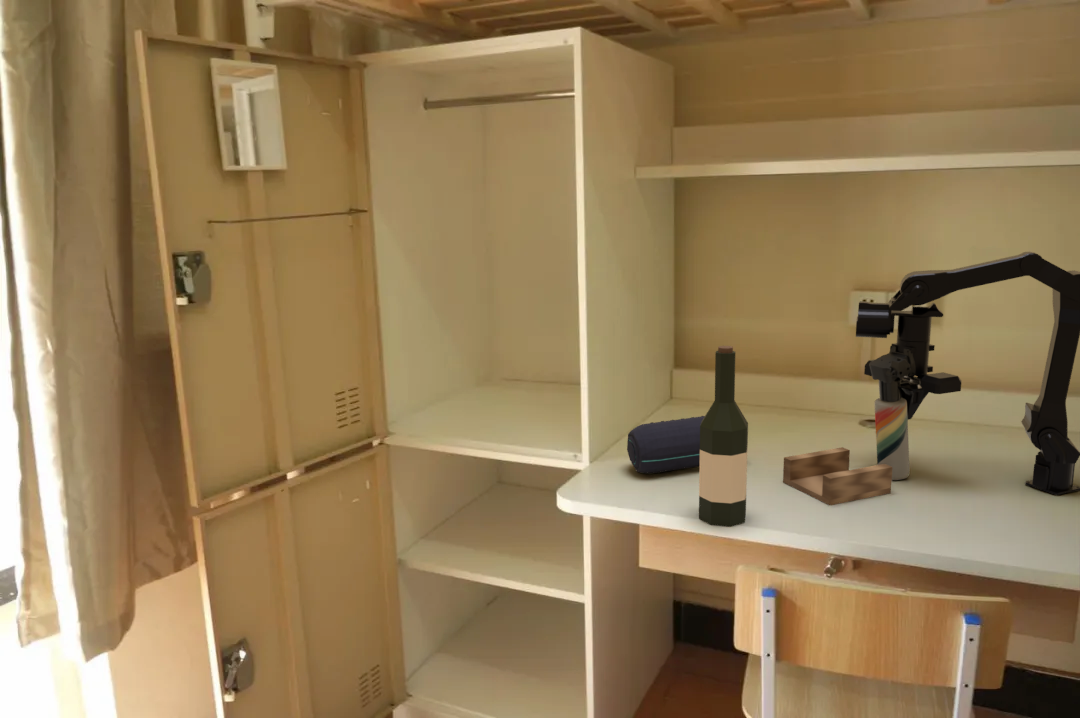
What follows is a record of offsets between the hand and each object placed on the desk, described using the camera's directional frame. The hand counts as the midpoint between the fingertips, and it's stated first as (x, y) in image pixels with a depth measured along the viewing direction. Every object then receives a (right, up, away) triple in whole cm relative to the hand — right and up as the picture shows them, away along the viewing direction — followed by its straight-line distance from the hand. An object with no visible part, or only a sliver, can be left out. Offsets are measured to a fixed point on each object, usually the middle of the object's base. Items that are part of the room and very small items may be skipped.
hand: (907, 418), depth 159 cm
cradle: (-15, -13, -4) cm, 20 cm away
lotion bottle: (-2, -11, +1) cm, 11 cm away
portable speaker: (-41, -11, +10) cm, 44 cm away
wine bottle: (-39, -16, -16) cm, 45 cm away
